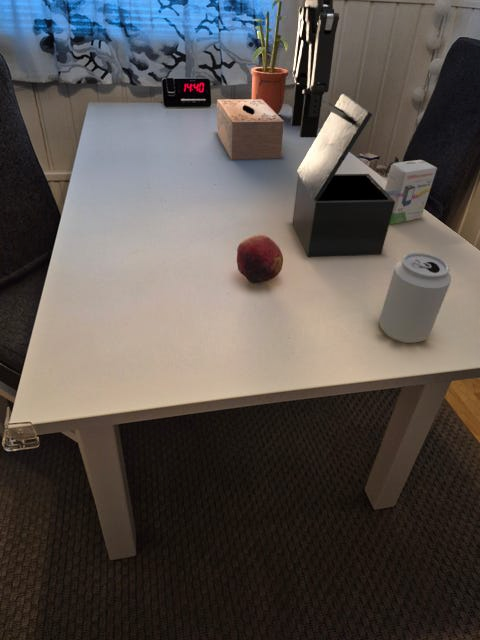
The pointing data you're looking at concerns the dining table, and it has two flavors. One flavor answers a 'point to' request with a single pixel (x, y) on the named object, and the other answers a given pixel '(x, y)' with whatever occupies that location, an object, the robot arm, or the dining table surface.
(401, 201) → the ink box
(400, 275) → the can
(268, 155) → the tissue box cover
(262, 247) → the fruit
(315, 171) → the bin lid
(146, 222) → the dining table surface
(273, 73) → the potted plant
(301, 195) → the bin
